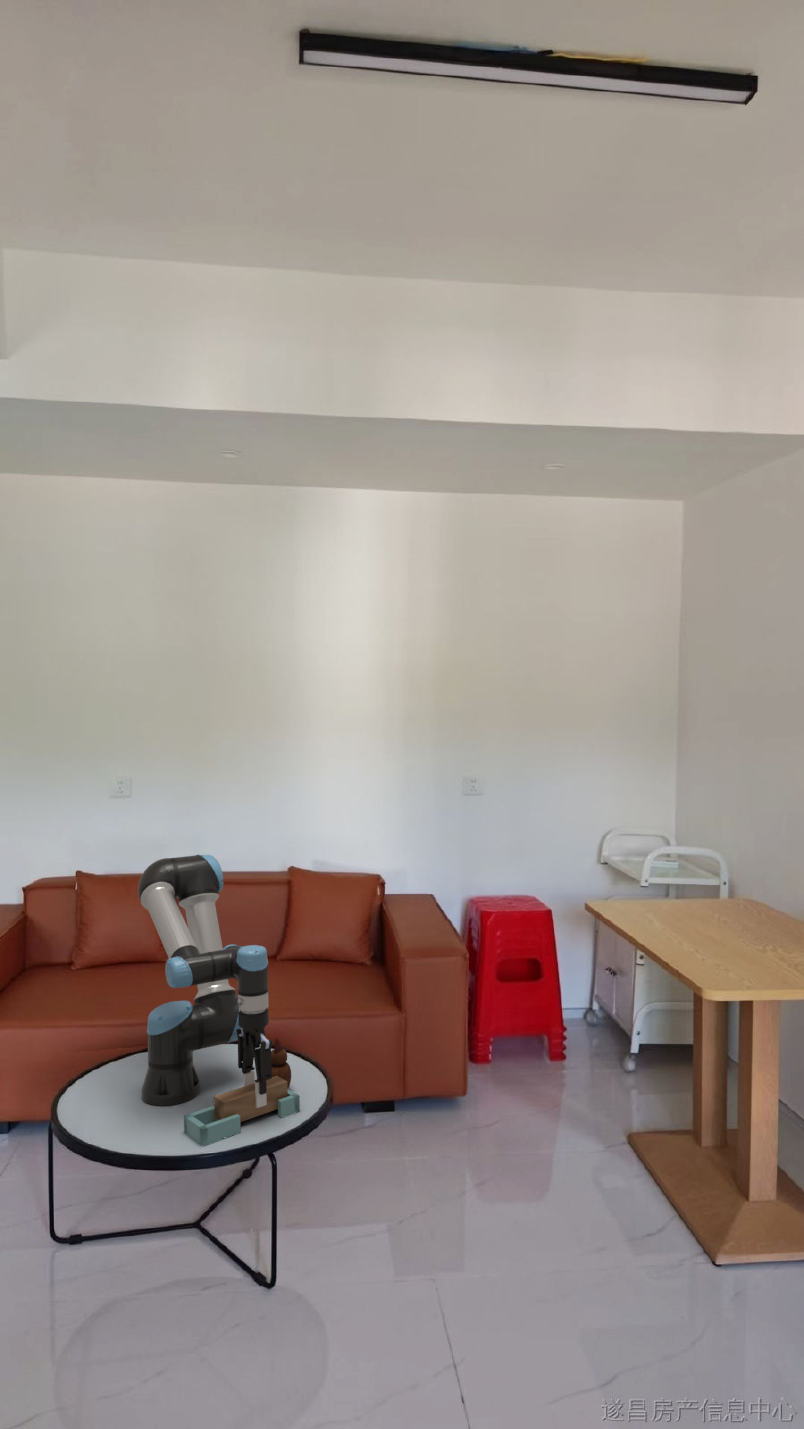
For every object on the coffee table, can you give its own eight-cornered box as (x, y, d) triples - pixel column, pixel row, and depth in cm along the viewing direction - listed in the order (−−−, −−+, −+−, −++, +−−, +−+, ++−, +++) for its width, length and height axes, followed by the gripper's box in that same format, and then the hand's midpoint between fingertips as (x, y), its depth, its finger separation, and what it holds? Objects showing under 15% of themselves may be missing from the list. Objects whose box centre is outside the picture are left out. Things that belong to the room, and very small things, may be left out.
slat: (214, 1120, 211) (214, 1096, 211) (277, 1099, 222) (276, 1075, 222) (224, 1127, 207) (224, 1102, 207) (287, 1105, 218) (287, 1081, 219)
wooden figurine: (279, 1098, 226) (277, 1041, 226) (262, 1094, 229) (261, 1037, 229) (295, 1089, 231) (294, 1033, 232) (279, 1085, 234) (277, 1030, 235)
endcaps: (184, 1132, 208) (183, 1115, 208) (279, 1099, 225) (279, 1084, 225) (202, 1146, 201) (202, 1129, 201) (299, 1111, 218) (299, 1095, 218)
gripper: (222, 1004, 220) (224, 1095, 220) (258, 1021, 206) (260, 1118, 206) (248, 998, 225) (250, 1087, 225) (285, 1014, 211) (287, 1109, 211)
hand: (255, 1102), depth 215 cm, fingers closed on slat, 5 cm apart
